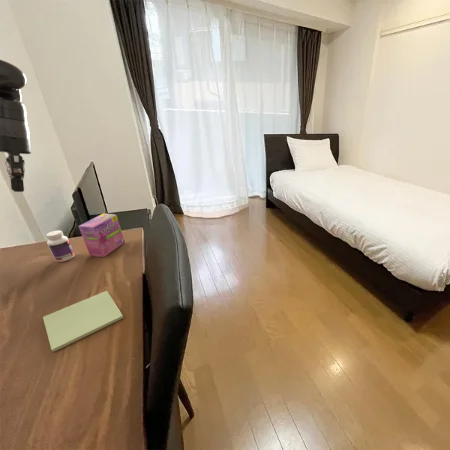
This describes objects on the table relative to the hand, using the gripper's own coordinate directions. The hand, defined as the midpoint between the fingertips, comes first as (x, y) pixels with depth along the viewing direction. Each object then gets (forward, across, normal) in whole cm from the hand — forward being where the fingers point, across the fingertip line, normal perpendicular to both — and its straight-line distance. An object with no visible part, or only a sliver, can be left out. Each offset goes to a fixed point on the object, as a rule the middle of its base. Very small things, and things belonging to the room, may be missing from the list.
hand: (17, 191), depth 83 cm
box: (+21, +5, +21) cm, 30 cm away
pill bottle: (+23, 0, +10) cm, 25 cm away
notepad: (+30, +38, +8) cm, 49 cm away
